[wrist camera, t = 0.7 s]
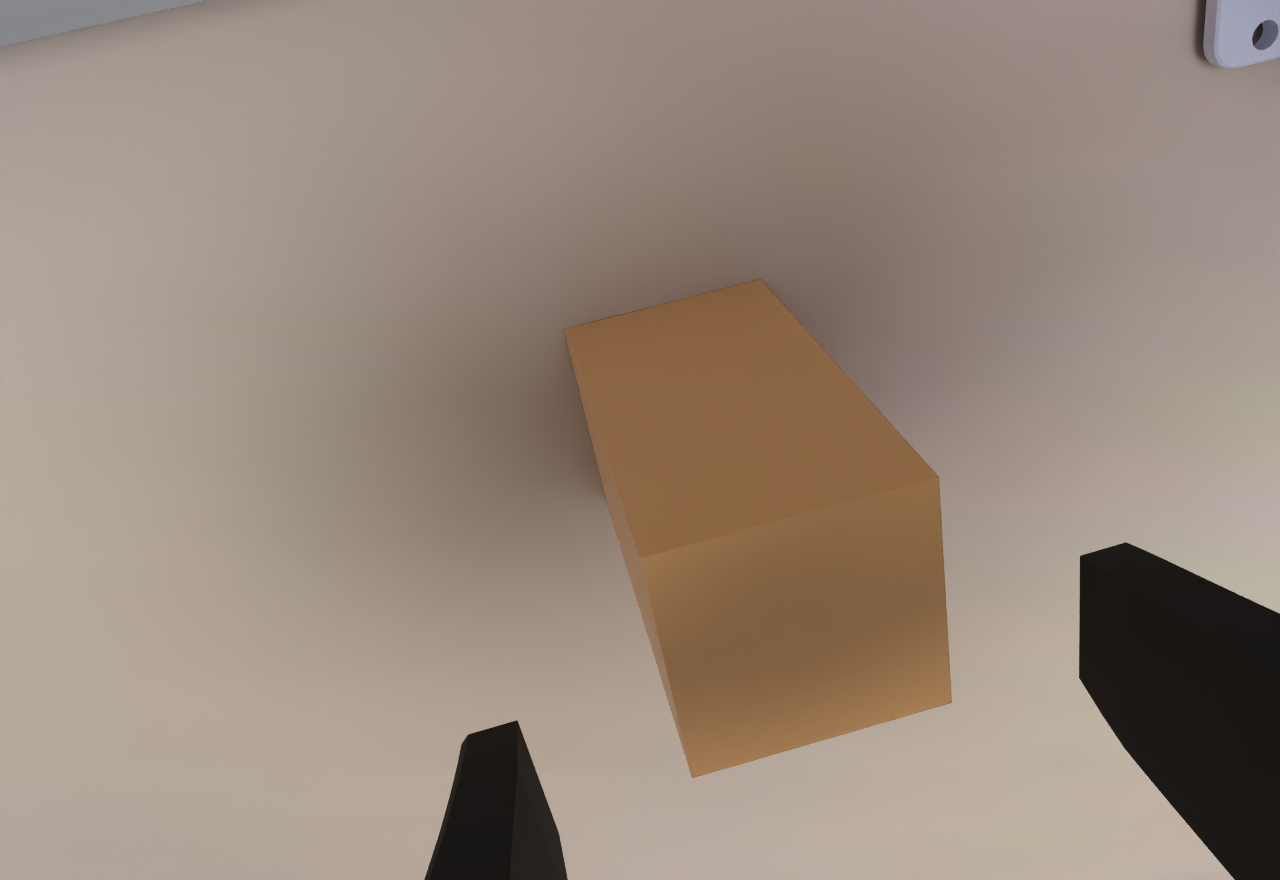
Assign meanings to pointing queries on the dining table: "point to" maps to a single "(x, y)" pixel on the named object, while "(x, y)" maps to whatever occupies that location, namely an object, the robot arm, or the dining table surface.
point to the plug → (764, 526)
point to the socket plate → (69, 15)
